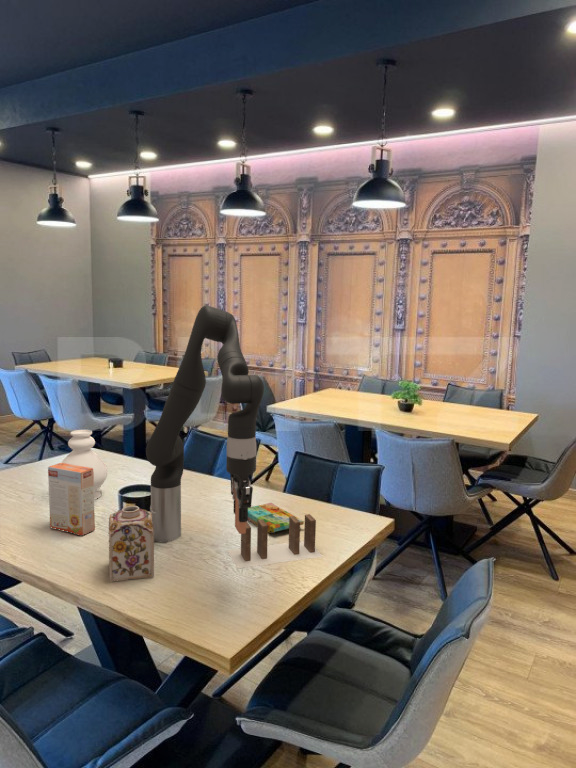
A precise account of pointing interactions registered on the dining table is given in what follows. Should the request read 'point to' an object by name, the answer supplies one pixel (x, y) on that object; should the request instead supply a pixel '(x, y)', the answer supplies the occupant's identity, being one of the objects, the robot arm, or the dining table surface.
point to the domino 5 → (309, 533)
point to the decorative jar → (131, 544)
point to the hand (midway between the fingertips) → (240, 517)
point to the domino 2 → (246, 544)
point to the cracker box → (71, 498)
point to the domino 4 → (294, 534)
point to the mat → (272, 555)
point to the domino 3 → (262, 539)
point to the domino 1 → (239, 525)
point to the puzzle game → (270, 517)
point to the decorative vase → (86, 457)
